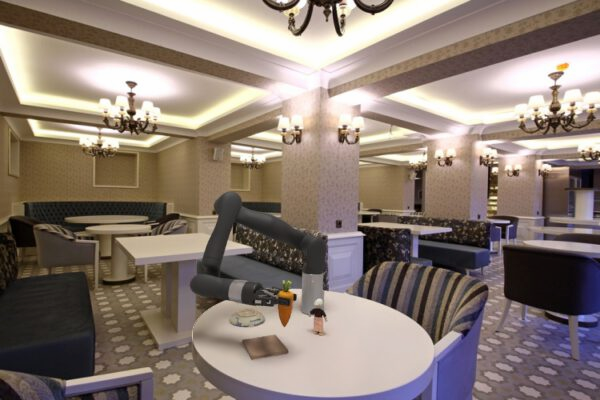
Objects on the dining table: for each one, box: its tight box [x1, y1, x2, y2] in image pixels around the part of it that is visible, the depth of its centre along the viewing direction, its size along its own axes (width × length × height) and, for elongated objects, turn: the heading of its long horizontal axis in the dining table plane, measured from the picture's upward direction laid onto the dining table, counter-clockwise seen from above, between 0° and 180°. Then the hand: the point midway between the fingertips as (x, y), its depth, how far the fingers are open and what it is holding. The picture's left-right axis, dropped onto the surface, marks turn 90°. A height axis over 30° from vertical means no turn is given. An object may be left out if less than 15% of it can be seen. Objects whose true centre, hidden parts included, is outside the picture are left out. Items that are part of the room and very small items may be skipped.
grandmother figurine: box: [308, 299, 329, 336], centre depth 115 cm, size 8×4×13 cm, turn 71°
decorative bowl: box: [228, 308, 267, 328], centre depth 126 cm, size 15×4×15 cm
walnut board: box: [241, 334, 289, 361], centre depth 102 cm, size 12×12×1 cm
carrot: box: [277, 279, 294, 328], centre depth 99 cm, size 5×5×15 cm
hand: (293, 299), depth 98 cm, fingers closed on carrot, 4 cm apart
